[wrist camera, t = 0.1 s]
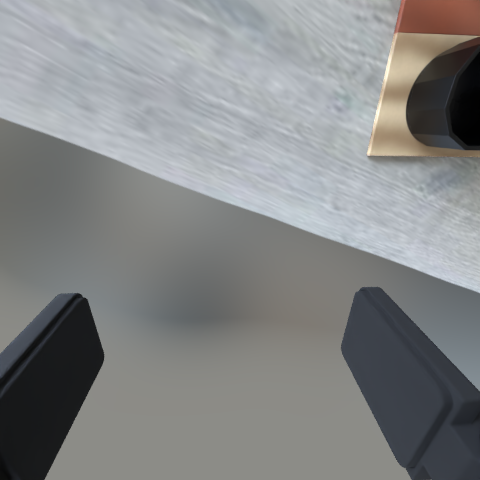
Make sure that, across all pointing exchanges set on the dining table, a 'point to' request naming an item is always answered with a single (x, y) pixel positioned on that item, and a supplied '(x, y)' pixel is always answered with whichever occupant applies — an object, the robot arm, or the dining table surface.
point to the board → (418, 69)
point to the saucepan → (448, 99)
